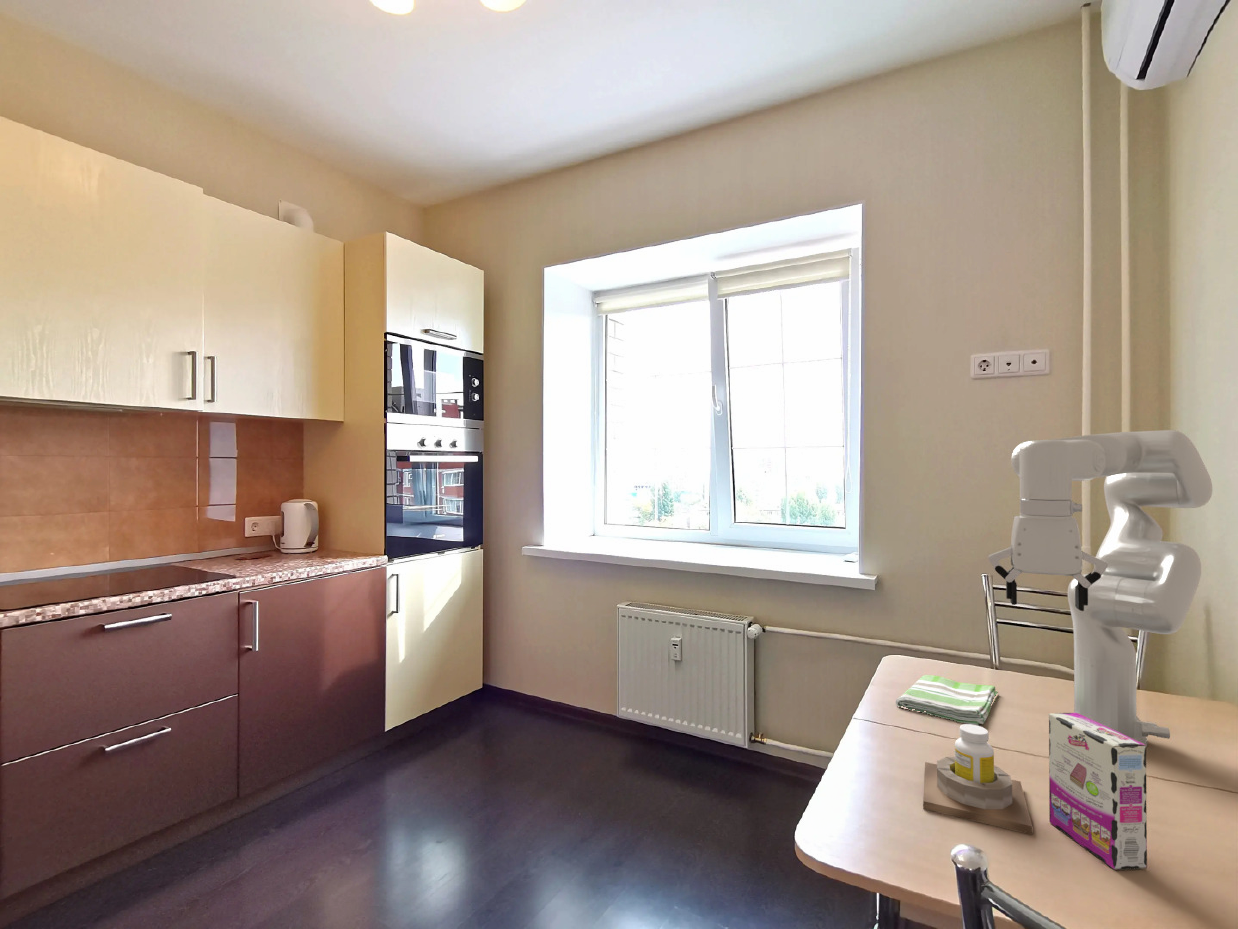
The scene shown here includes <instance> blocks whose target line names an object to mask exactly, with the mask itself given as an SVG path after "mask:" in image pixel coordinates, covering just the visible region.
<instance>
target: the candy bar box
mask: <svg viewBox="0 0 1238 929" xmlns="http://www.w3.org/2000/svg"><path fill="white" fill-rule="evenodd" d="M1048 751H1049V752H1048V767H1049V768H1048V769H1049V771H1048V773H1049V775H1048V776H1049V778H1048V780H1049V782H1048V784H1049V788H1048V789H1049V791H1048V792H1049V799H1048V800H1049V802H1048V804H1049V823H1050V824H1051V825H1052V826H1054V827H1055V828H1056V829H1058V830H1059V831H1061V832H1062V833H1063V834H1065V835H1066V836H1068V837H1069V838H1070V839H1071V840H1073V841H1074V842H1076V843H1077V844H1078V845H1079V846H1081V847H1083V848H1084V849H1085V850H1087V851H1088V852H1089V853H1091V854H1093V855H1094V856H1095V857H1097V858H1098V859H1099V860H1101V861H1102V862H1103V863H1104V864H1106V865H1107V866H1109V867H1110V868H1112V869H1114V870H1115V871H1117V870H1118V871H1120V870H1121V871H1122V870H1123V871H1124V870H1145V869H1147V868H1148V849H1147V848H1148V842H1147V841H1148V840H1147V839H1148V838H1147V833H1148V832H1147V831H1148V830H1147V828H1148V826H1147V824H1148V822H1147V818H1148V817H1147V816H1148V815H1147V812H1148V811H1147V799H1148V798H1147V746H1146V745H1145V744H1143V743H1141V742H1138V741H1136V740H1134V739H1132V738H1130V737H1128V736H1126V735H1124V734H1122V733H1119V732H1117V731H1115V730H1113V729H1111V728H1109V727H1107V726H1104V725H1102V724H1100V723H1098V722H1096V721H1094V720H1092V719H1089V718H1087V717H1085V716H1083V715H1081V714H1079V713H1074V712H1059V713H1058V712H1057V713H1048Z"/></svg>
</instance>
